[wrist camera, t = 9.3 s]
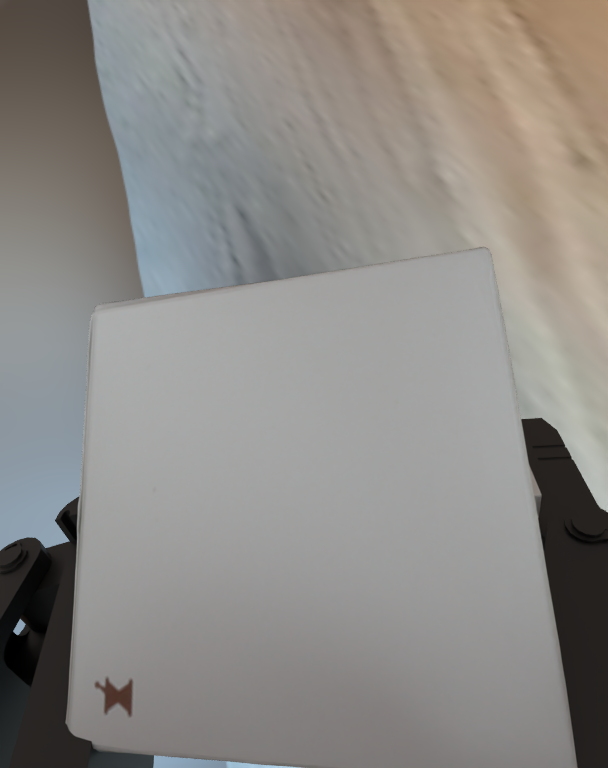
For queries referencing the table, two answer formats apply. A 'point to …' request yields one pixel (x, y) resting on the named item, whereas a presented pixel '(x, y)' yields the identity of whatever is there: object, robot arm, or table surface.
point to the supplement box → (314, 529)
